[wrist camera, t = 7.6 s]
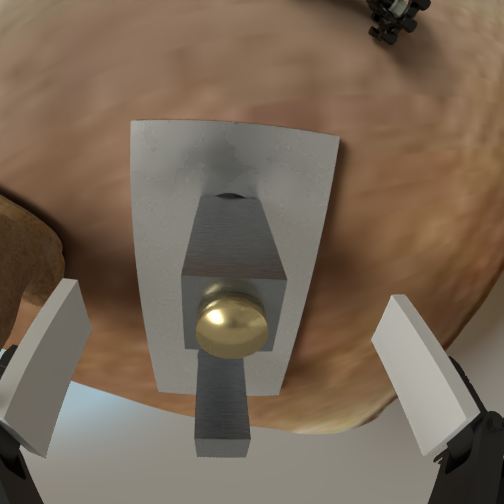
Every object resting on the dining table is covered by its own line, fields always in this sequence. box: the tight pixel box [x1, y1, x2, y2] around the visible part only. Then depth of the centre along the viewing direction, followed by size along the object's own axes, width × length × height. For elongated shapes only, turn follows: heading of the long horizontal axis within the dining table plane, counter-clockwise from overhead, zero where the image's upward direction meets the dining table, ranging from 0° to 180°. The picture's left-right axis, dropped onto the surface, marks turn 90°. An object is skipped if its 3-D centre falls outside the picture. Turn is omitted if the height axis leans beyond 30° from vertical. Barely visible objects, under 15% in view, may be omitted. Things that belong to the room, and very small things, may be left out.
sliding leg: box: [181, 196, 287, 359], centre depth 16 cm, size 4×4×11 cm
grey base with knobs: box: [130, 119, 340, 457], centre depth 20 cm, size 14×28×12 cm, turn 174°
